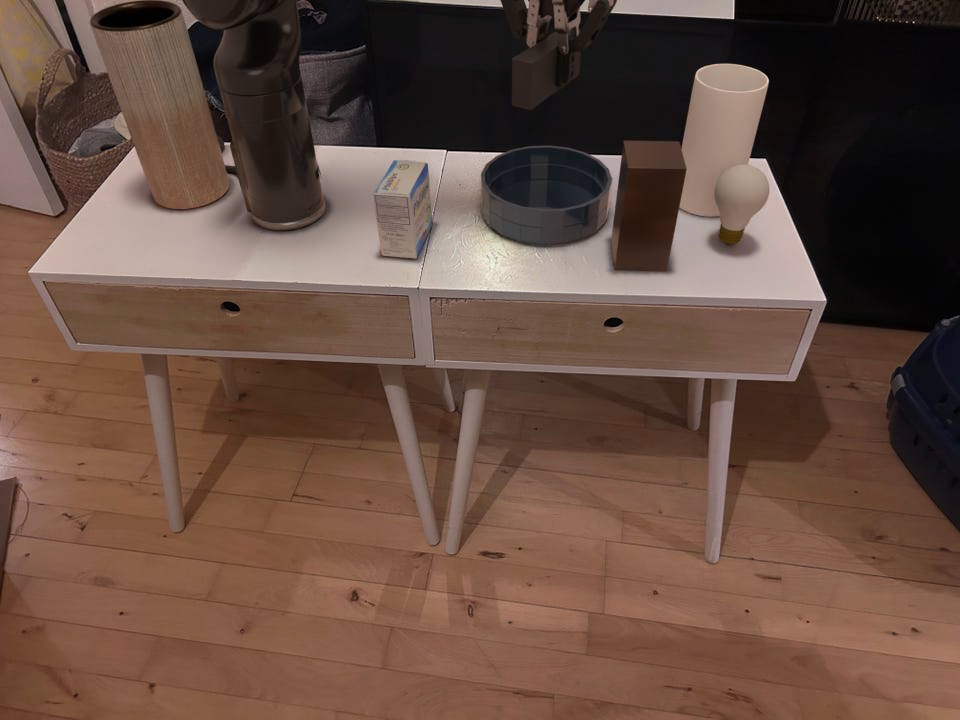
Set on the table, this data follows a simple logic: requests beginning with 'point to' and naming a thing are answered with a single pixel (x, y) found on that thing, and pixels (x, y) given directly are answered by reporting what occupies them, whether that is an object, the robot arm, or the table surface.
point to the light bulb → (739, 200)
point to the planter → (162, 101)
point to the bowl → (545, 194)
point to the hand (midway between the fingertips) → (550, 81)
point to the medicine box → (403, 208)
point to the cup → (719, 130)
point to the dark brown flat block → (537, 73)
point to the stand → (647, 204)
